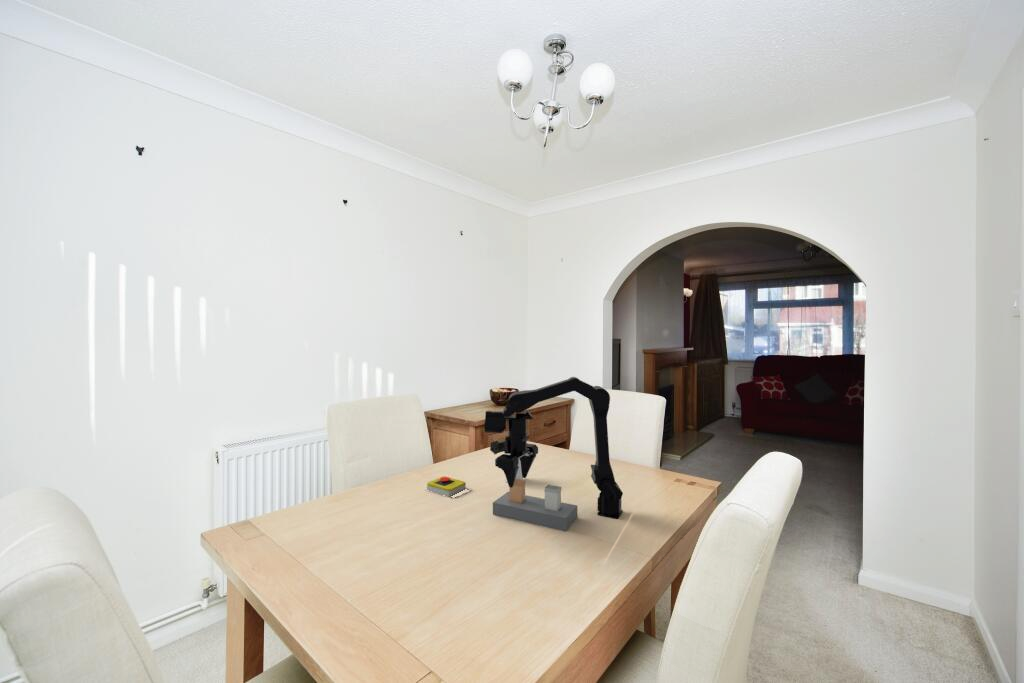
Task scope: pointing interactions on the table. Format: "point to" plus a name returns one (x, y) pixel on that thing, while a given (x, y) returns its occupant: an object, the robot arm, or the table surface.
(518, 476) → the white cup
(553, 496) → the grey plug
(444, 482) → the emergency button
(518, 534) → the table surface
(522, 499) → the terracotta plug
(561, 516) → the block
